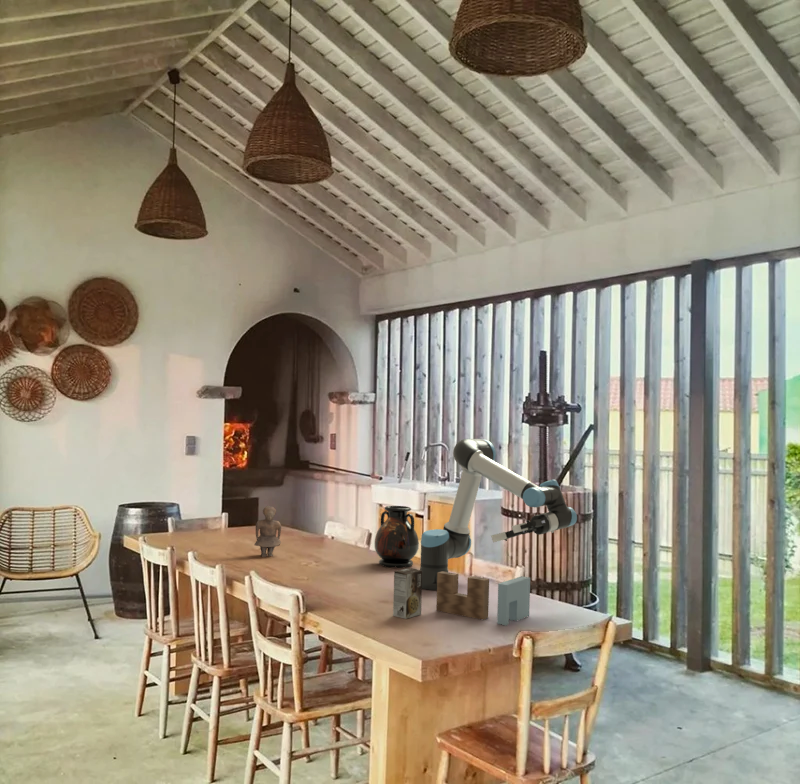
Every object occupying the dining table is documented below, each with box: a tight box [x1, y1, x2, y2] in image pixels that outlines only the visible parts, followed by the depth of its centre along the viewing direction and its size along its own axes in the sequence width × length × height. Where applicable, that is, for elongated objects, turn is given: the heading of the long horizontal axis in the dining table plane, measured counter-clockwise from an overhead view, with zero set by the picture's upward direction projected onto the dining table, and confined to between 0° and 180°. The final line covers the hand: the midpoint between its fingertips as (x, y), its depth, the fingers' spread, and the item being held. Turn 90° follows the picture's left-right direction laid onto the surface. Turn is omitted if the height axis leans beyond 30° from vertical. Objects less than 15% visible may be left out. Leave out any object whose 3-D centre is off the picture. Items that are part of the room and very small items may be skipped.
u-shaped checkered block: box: [436, 571, 490, 621], centre depth 290 cm, size 20×4×14 cm, turn 54°
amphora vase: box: [374, 505, 420, 569], centre depth 383 cm, size 22×22×28 cm
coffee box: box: [392, 567, 423, 620], centre depth 286 cm, size 9×6×16 cm
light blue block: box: [496, 575, 531, 626], centre depth 285 cm, size 4×18×14 cm, turn 144°
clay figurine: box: [254, 505, 282, 558], centre depth 396 cm, size 13×10×25 cm
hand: (502, 534), depth 300 cm, fingers open, 13 cm apart
